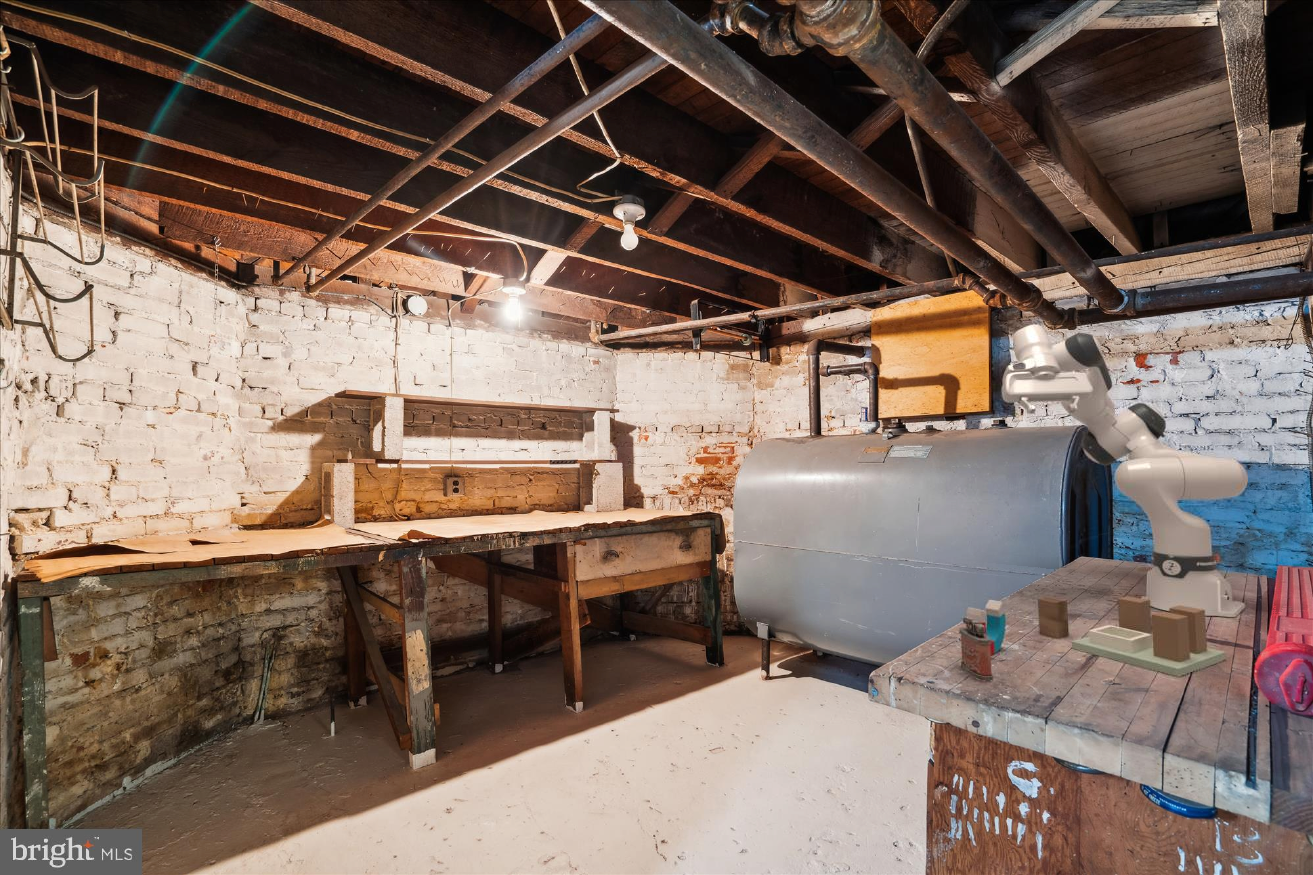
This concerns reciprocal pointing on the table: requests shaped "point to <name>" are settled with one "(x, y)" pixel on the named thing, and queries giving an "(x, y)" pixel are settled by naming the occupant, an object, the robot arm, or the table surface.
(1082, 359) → the robot arm
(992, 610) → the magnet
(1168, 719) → the table surface
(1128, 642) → the board
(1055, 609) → the leg
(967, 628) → the lighter
